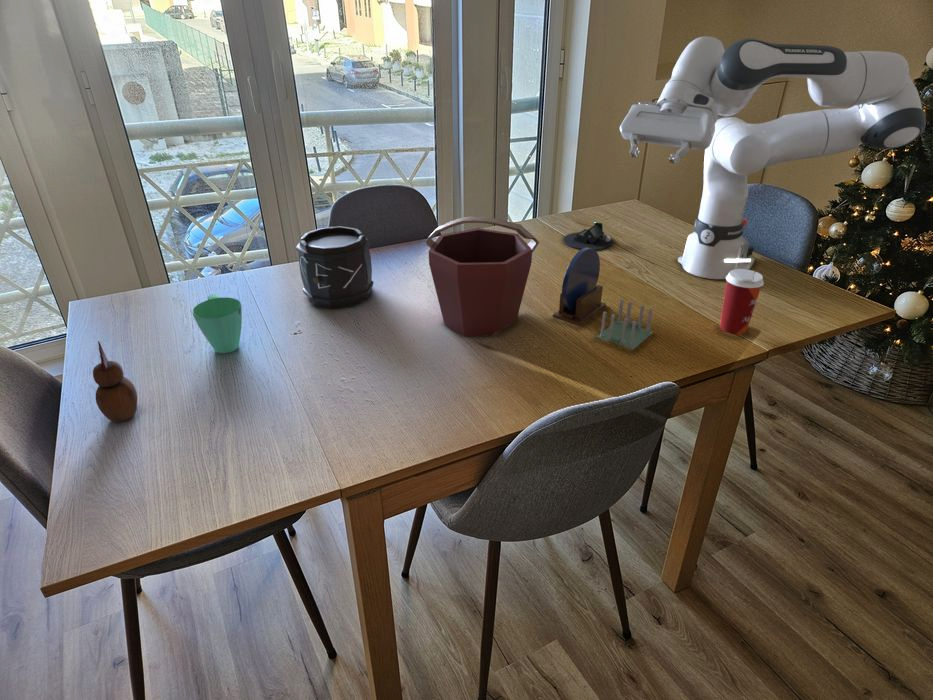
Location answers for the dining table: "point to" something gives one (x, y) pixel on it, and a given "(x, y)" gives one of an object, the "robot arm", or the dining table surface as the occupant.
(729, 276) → the paper cup
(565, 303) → the plate
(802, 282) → the dining table surface
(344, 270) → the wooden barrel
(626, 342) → the dish rack
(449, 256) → the bucket
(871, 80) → the robot arm
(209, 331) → the mug
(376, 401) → the dining table surface
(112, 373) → the wooden figurine
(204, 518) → the dining table surface
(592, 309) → the napkin holder
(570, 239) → the dark blue round base
